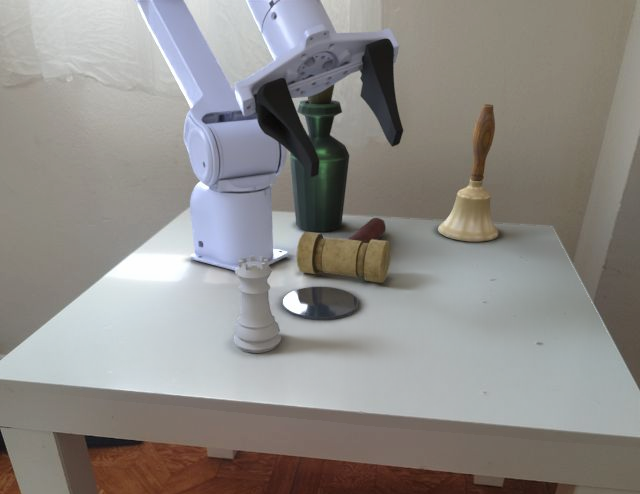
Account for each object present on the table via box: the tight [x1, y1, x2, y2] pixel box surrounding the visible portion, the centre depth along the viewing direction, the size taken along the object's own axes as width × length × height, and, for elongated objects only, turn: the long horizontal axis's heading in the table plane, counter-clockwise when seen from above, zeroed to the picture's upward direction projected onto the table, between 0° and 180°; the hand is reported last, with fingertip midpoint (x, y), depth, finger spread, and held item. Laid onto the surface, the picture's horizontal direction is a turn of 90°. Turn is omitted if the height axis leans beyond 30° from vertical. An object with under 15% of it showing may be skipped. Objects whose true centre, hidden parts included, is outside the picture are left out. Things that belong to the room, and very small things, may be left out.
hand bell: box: [437, 103, 499, 243], centre depth 81 cm, size 8×8×16 cm
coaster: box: [282, 286, 359, 321], centre depth 65 cm, size 8×8×1 cm
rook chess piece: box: [233, 255, 282, 354], centre depth 55 cm, size 4×4×8 cm
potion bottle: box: [289, 84, 350, 233], centre depth 83 cm, size 8×8×18 cm
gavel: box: [296, 217, 391, 284], centre depth 77 cm, size 21×5×10 cm
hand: (356, 153), depth 52 cm, fingers open, 7 cm apart
